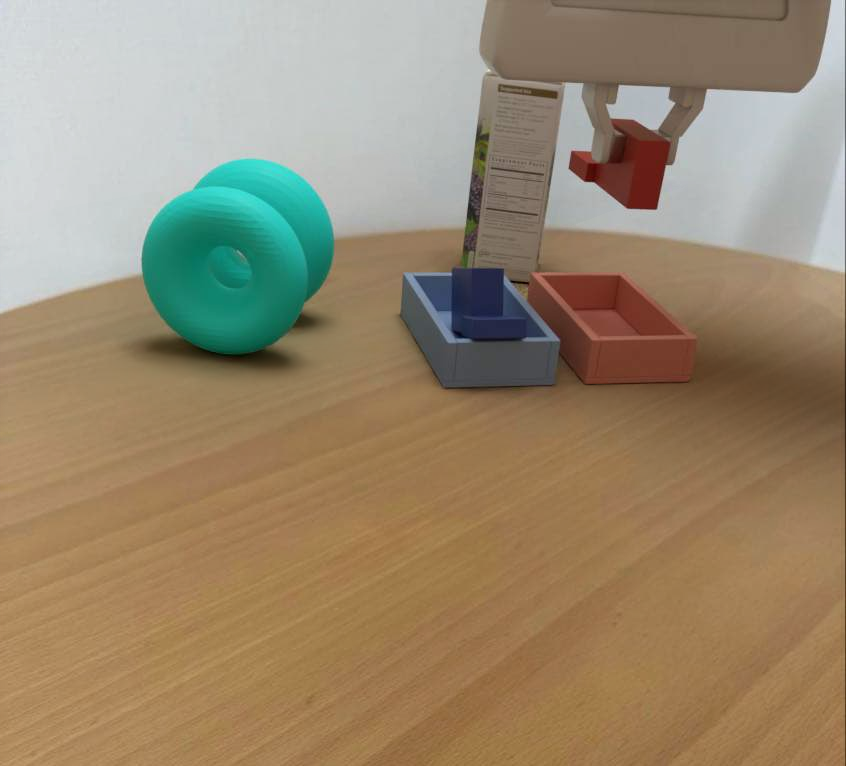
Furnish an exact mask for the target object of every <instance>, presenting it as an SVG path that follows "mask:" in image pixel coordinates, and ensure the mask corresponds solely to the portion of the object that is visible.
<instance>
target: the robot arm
mask: <svg viewBox="0 0 846 766" xmlns="http://www.w3.org/2000/svg"><path fill="white" fill-rule="evenodd" d="M831 5H832V0H486V4H485V8H484V13H483V19H482V23H481V29H480V30H481V31H480V35H479V36H480V37H479V44H478V45H479V46H478V52H479V56H480V58H481V59H482V62H483V63H484V65H485V66H486V68H487V69H489V70H490V71H491V72H492V73H494V74H495V75H497V76H498V77H500V78H502V79H506V80H520V81H542V82H564V83H565V84H582V89H581V96H580V97H581V99H582V102H583V105H584V108H585V110H586V113H587V116H588V118H589V120H590V124H591V127H592V128H594V130H593V137H592V144H591V148H590V149H591V150H590V151H591V156H592V159H593V160H594V161H596V162H597V163H602V164H620V163H621V162H622V160H623V156H624V152H623V150H624V148H625V145H626V139H627V135H626V134H624V133H622V132H621V131H620V130H618V129H616V128H613V125H612V122H611V119H610V118H611V116H610V114H609V110H608V107H607V105H615V104H617V99H618V93H619V87H620V86H630V87H631V86H632V87H650V88H651V87H654V88H669V92H668V97H667V98H668V100H669V101H671V102H672V103H674V104H673V106H672V107H671V109H670V110H669V112H668V113H667V115H666V116H665V118H664V119H663V121H662V122H661V124H660V125H659V127H658V128H657V129H650V130H651V131H653V132H654V133H656V134H658V135H659V136H661V137H662V138H664V139H666V140H667V141H669V142H670V149H669V153H668V158H667V163H666V166H673V165H674V164H675V161H676V156H677V152H678V146H679V143H680V138H682V137H683V135H684V134H685V133H686V132H687V130H688V129H689V128H690V126H691V125H692V124H693V122H694V121H695V120H696V119H697V118H698V116H699V115H700V114H701V112H702V111H703V109H704V106H705V100H706V96H707V91H708V90H718V91H719V90H720V91H740V92H762V93H780V94H781V93H783V94H798V93H800V92H801V91H802V90H804V89H805V87H806V86H807V85H808V84H809V83H810V82H811V81H812V80H813V79H814V77H815V76H816V74H817V72H818V69H819V66H820V61H821V58H822V53H823V49H824V44H825V39H826V35H827V31H828V24H829V18H830V14H831Z"/></svg>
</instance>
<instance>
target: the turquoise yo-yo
mask: <svg viewBox="0 0 846 766" xmlns="http://www.w3.org/2000/svg"><path fill="white" fill-rule="evenodd" d="M334 236H335V235H334V228H333V224H332V219H331V217H330V214H329V211H328V209H327V207H326V205H325V203H324V202H323V200H322V198H321V197H320V195H319V194H318V193H317V191H316V190H315V189H314V187H313V186H312V185H311V184H310V183H309V182H308V181H307V180H306V179H304V178H303V177H302V176H301V175H300V174H298V173H296V172H295V171H294V170H292V169H290V168H288V167H287V166H285V165H283V164H280V163H278V162H274V161H271V160H267V159H261V158H240V159H233V160H231V161H226V162H225V163H222V164H220V165H218V166H216V167H215V168H213V169H212V170H210V171H209V172H207V173H206V174H205V175H204V176H202V177H201V179H199V180H198V182H197V183H196V184H195V186H193V188H192V189H191V190H188V191H186V192H183V193H181V194H179V195H177V196H176V197H174V198H173V199H171V201H169V202H168V203H166V204H165V205H164V206H163V207H162V208H161V209H160V210H159V211H158V212H157V214H156V215H155V216H154V218H153V219H152V221H151V223H150V225H149V227H148V229H147V231H146V234H145V236H144V240H143V244H142V248H141V249H142V250H141V273H142V274H141V275H142V278H143V279H142V280H143V283H144V286H145V290H146V293H147V295H148V298H149V299H150V302H151V304H152V306H153V307H154V309H155V310H156V312H157V314H158V315H159V316H160V318H161V319H162V320H163V321H164V323H165V324H166V325H167V326H168V327H169V328H170V329H171V330H172V331H173V332H175V333H176V334H177V335H178V336H180V337H181V338H183V339H184V340H185V341H187V342H188V343H191V344H192V345H194V346H196V347H198V348H201V349H203V350H205V351H208V352H212V353H216V354H222V355H232V356H233V355H246V354H251V353H256V352H258V351H261V350H264V349H266V348H268V347H270V346H272V345H273V344H275V343H276V342H278V341H280V339H282V338H283V337H284V336H285V335H287V334H288V332H289V331H290V330H291V329H292V327H293V326H294V325H295V323H296V322H297V320H298V319H299V317H300V315H301V313H302V311H303V308H304V306H305V304H306V303H307V302H308V301H310V300H311V299H312V298H313V297H314V296H315V295H316V294H317V293H318V291H319V290H320V289H321V287H322V286H323V284H324V283H325V281H326V280H327V278H328V275H329V273H330V270H331V269H332V268H331V267H332V265H333V260H334V255H335V254H334V253H335V237H334Z"/></svg>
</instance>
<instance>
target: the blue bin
mask: <svg viewBox="0 0 846 766" xmlns="http://www.w3.org/2000/svg"><path fill="white" fill-rule="evenodd" d="M401 283H402V285H401V298H400V308H399V309H400V312H399V314H400V315H401V317H402V319H403V320H404V322H405V324H406V326H407V327H408V329H409V331H410V332H411V334H412V336H413V338H414V339H415V341H416V343H417V344H418V346H419V348H420V350H421V351H422V353H423V355H424V357H425V358H426V360H427V362H428V363H429V365H430V366H431V369H432V371H433V372H434V374H435V375H436V377H437V379H438V380H439V382H440V384H441V386H442V387H443V388H444V389H448V388H449V389H451V388H452V389H453V388H455V389H456V388H487V387H488V388H489V387H490V388H491V387H525V386H528V387H529V386H554V385H555V380H556V374H557V368H558V360H559V354H560V353H559V348H560V340H559V338H558V337H557V336H556V335H555V334H554V333H553V331H552V330H551V329H550V328H549V327H548V325H547V324H546V323H545V322H544V321H543V320H542V318H541V317H540V316H539V315H538V314H537V313H536V311H535V310H534V309H533V308H532V307H531V306H530V304H529V303H528V302H527V299H526V298H525V297H524V296H523V295H522V294H521V292H520V291H519V290H518V289H517V288H516V287H515V285H514V284H513V283H512V282H511V280H508V279H507V277H506V276H505V275H504V296H503V316H506V315H512V316H518V317H523V318H526V319H527V328H526V338H525V339H472V338H469V337H465V336H462V333H461V332H457V331H453V330H452V329H451V322H452V272H403V273H402V282H401Z"/></svg>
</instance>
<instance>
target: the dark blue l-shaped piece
mask: <svg viewBox="0 0 846 766" xmlns="http://www.w3.org/2000/svg"><path fill="white" fill-rule="evenodd" d="M451 273H452V322H451V329H452V330H453V331H457V332H461V333H462V336H465V337H469V338H472V339H525V338H526V328H527V319H526V318H523V317H518V316H512V315H506V316H503V296H504V268H461V267H451Z"/></svg>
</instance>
